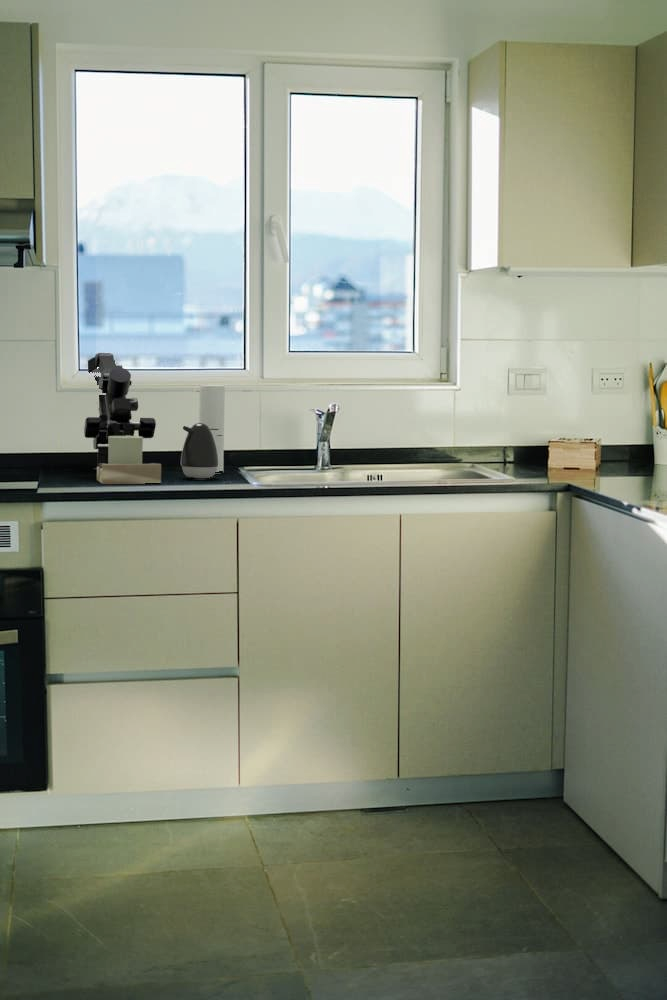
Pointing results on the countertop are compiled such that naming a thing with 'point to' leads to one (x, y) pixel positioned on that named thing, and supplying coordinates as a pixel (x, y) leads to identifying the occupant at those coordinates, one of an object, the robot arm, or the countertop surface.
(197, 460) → the pump dispenser
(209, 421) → the cylindrical container
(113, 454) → the can
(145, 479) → the frame
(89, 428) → the robot arm
